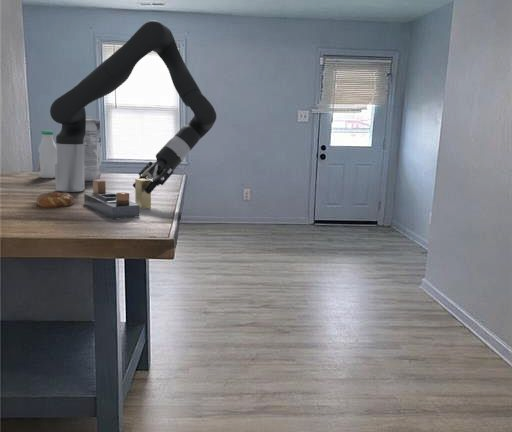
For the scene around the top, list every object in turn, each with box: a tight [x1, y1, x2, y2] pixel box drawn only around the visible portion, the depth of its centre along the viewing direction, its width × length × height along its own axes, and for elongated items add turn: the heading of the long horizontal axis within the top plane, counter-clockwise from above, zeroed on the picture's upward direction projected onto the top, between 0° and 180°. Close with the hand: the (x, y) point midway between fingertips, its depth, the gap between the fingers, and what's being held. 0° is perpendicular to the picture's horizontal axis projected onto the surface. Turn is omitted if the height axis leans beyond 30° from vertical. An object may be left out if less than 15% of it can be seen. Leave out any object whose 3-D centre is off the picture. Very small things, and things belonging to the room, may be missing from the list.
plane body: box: [83, 178, 141, 220], centre depth 140 cm, size 24×8×8 cm, turn 38°
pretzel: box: [36, 191, 75, 208], centre depth 145 cm, size 12×11×4 cm
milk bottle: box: [37, 130, 57, 179], centre depth 197 cm, size 8×8×20 cm
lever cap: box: [134, 178, 152, 210], centre depth 147 cm, size 4×4×9 cm
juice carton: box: [83, 115, 102, 182], centre depth 195 cm, size 9×10×27 cm
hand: (140, 189), depth 146 cm, fingers open, 8 cm apart
